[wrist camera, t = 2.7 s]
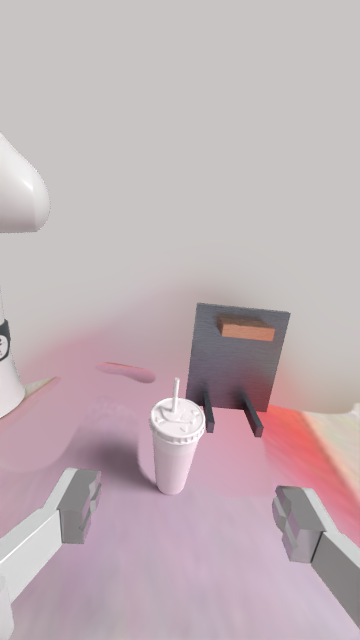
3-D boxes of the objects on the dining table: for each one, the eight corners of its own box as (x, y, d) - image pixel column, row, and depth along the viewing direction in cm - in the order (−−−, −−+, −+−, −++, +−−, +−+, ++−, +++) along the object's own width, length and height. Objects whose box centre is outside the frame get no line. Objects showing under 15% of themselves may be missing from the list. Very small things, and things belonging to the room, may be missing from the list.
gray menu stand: (185, 430, 33) (200, 312, 28) (185, 400, 40) (197, 302, 35) (282, 439, 33) (314, 323, 28) (263, 407, 41) (287, 311, 36)
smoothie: (161, 448, 29) (170, 361, 26) (203, 470, 27) (218, 376, 23) (133, 489, 24) (139, 384, 20) (182, 521, 21) (198, 408, 18)
